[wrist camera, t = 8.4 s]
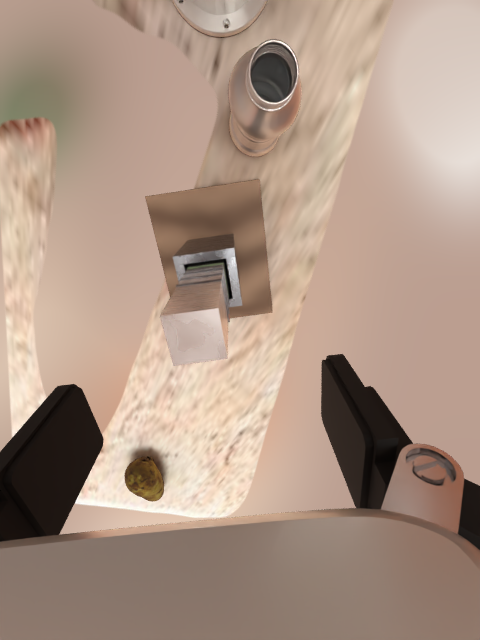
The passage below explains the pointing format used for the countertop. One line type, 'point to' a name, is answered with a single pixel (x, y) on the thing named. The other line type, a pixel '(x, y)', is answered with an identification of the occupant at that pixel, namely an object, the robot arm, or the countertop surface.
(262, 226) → the stand
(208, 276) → the steel post
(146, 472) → the potato
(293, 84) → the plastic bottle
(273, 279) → the countertop surface
